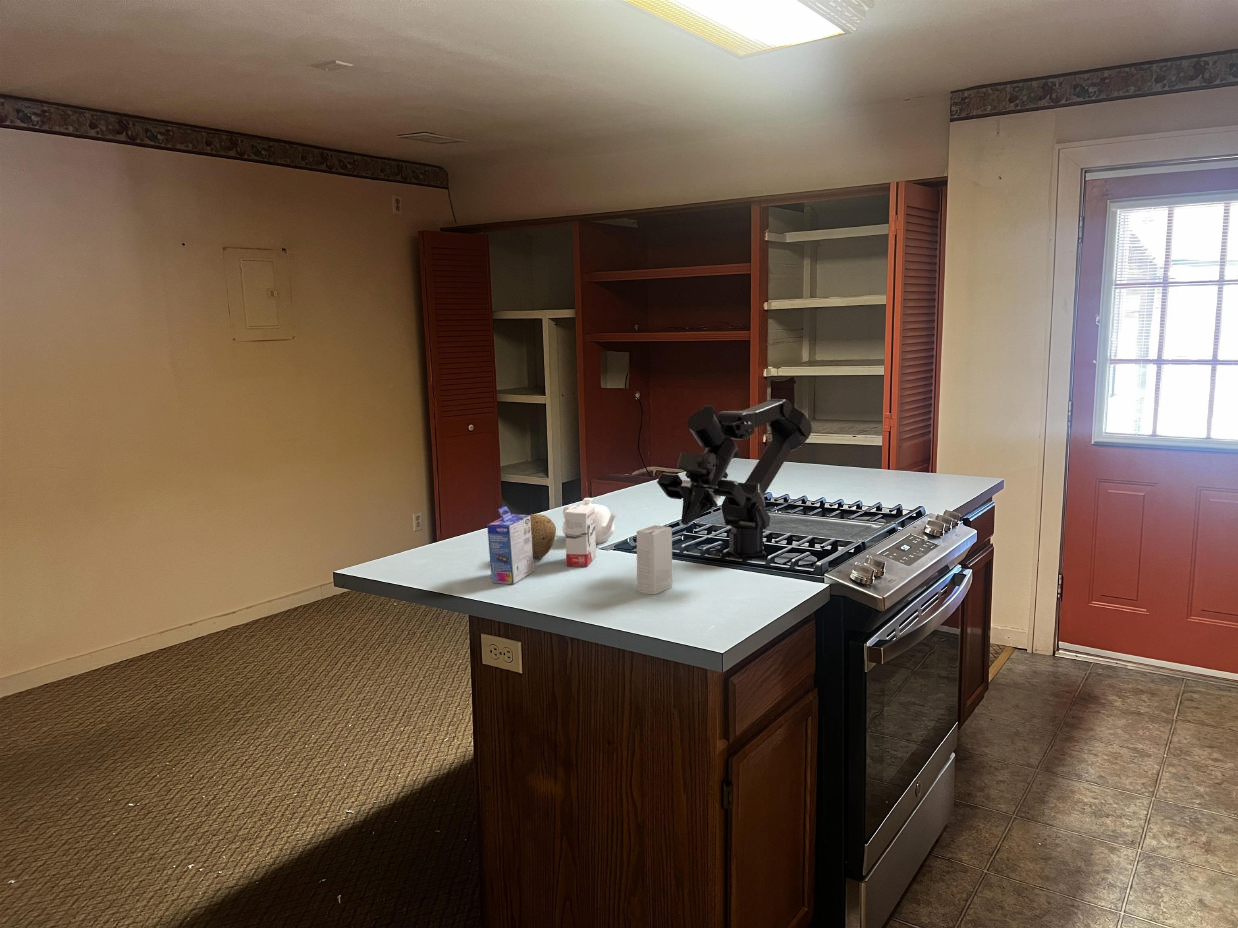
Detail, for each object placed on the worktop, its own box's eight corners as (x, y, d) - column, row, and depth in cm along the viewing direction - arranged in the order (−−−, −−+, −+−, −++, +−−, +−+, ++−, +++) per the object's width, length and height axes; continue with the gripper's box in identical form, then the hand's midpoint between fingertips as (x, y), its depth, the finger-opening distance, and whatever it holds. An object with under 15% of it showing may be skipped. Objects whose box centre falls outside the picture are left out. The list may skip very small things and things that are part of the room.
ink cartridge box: (510, 569, 184) (507, 502, 182) (534, 571, 182) (532, 503, 180) (489, 583, 175) (485, 512, 173) (514, 585, 173) (510, 513, 171)
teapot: (637, 543, 204) (636, 500, 203) (595, 552, 196) (594, 508, 195) (585, 529, 219) (583, 489, 218) (544, 537, 212) (543, 496, 210)
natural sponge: (522, 565, 187) (520, 520, 185) (510, 556, 195) (508, 512, 193) (562, 560, 190) (560, 515, 189) (548, 551, 199) (547, 508, 197)
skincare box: (655, 584, 171) (654, 523, 169) (673, 588, 168) (673, 526, 167) (635, 591, 167) (634, 530, 165) (654, 596, 164) (653, 533, 162)
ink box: (587, 567, 185) (586, 512, 183) (565, 566, 186) (563, 512, 184) (597, 556, 193) (595, 504, 191) (575, 556, 194) (573, 504, 192)
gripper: (661, 434, 180) (628, 495, 174) (738, 440, 169) (706, 505, 162) (684, 466, 188) (653, 526, 181) (759, 474, 176) (729, 538, 169)
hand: (683, 523), depth 173 cm, fingers closed
